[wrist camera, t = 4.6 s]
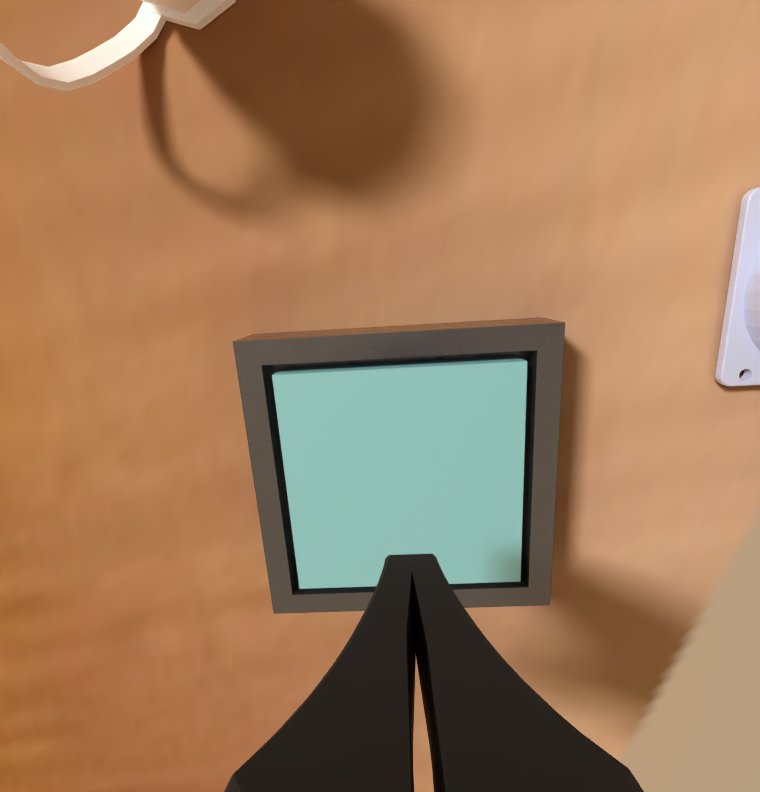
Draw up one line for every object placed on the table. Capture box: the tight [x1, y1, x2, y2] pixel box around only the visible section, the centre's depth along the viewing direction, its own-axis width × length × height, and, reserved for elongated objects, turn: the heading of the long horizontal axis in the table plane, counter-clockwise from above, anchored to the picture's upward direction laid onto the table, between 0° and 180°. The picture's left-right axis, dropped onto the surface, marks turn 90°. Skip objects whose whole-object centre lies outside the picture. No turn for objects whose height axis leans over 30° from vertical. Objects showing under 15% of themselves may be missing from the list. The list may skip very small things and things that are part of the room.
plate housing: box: [233, 318, 565, 613], centre depth 19 cm, size 13×13×2 cm
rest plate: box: [272, 355, 527, 589], centre depth 18 cm, size 10×10×2 cm
